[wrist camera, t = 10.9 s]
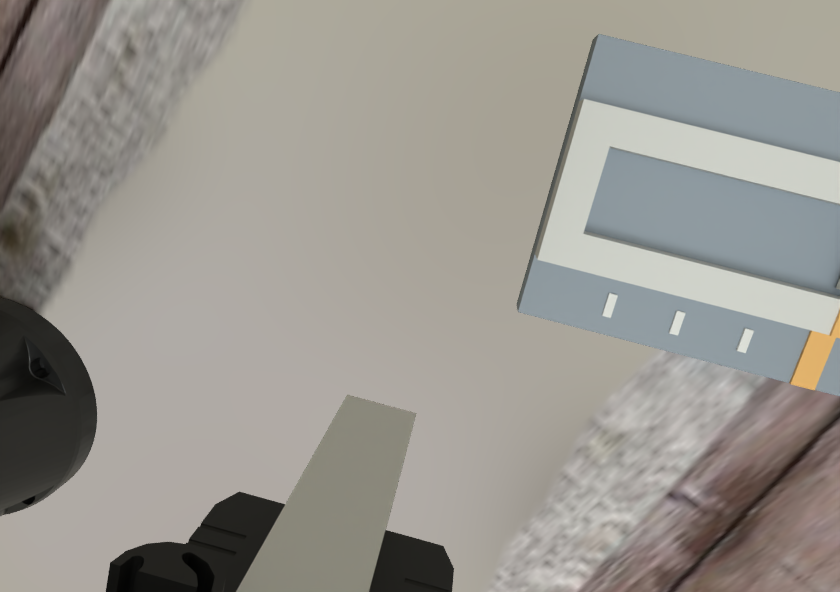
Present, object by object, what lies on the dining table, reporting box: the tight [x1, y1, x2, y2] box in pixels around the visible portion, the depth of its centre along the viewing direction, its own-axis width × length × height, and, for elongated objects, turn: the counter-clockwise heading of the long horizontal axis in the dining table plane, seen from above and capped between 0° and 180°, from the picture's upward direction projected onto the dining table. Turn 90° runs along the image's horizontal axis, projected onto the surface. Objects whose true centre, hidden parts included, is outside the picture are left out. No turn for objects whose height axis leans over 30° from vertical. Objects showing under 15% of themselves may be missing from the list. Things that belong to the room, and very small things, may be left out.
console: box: [517, 34, 840, 396], centre depth 38 cm, size 16×24×4 cm, turn 76°
